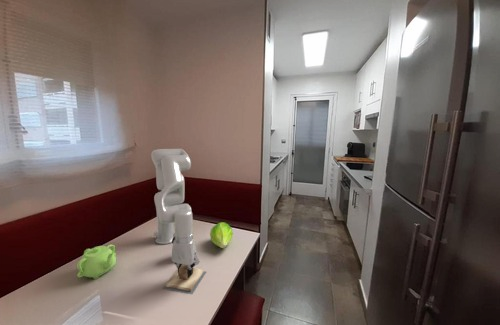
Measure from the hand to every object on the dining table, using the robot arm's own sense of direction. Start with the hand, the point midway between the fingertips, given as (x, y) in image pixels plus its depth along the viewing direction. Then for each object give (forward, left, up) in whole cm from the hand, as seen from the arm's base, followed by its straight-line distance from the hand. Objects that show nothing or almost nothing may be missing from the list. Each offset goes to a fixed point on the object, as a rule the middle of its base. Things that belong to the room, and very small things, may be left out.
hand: (185, 274), depth 90 cm
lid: (0, 0, -2) cm, 2 cm away
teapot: (-43, -4, -3) cm, 43 cm away
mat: (0, 0, -3) cm, 3 cm away
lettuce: (+6, +31, -3) cm, 32 cm away
